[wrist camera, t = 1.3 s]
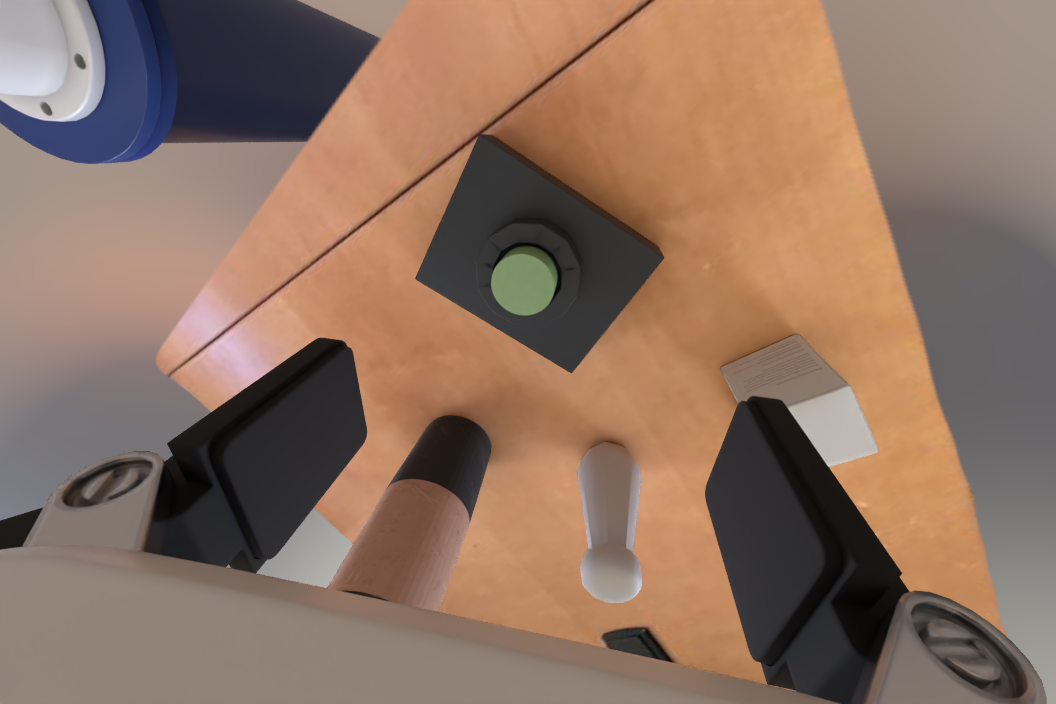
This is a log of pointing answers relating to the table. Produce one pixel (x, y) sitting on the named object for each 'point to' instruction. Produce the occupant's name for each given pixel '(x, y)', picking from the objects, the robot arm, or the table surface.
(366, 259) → the table surface
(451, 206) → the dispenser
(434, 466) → the travel mug
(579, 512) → the table surface
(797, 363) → the product box
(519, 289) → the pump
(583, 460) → the salt shaker
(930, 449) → the table surface
